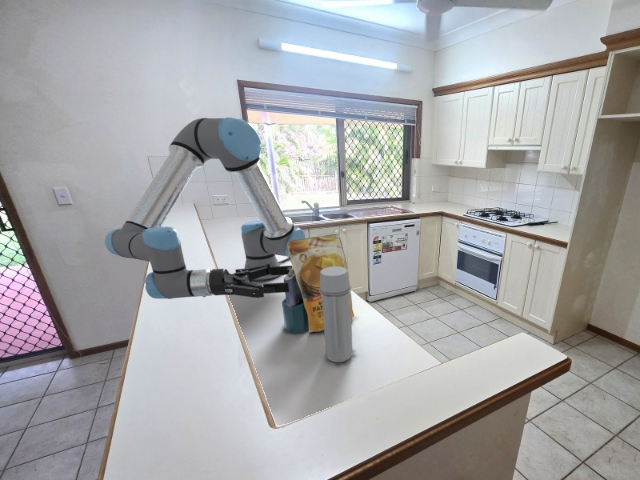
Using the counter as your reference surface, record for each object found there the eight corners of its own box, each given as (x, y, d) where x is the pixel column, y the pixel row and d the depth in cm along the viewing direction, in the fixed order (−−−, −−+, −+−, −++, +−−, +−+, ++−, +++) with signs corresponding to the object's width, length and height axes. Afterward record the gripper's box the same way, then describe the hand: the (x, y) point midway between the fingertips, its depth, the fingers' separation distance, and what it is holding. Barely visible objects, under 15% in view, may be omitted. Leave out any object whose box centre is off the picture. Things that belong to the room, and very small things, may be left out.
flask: (293, 308, 96) (288, 273, 91) (283, 307, 96) (279, 273, 92) (305, 295, 104) (302, 263, 100) (297, 294, 104) (293, 262, 100)
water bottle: (326, 348, 93) (320, 265, 83) (354, 347, 93) (351, 265, 84) (322, 369, 84) (314, 279, 74) (353, 368, 85) (349, 279, 75)
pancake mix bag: (298, 331, 102) (281, 241, 95) (350, 313, 113) (338, 232, 106) (308, 336, 96) (290, 242, 90) (361, 317, 108) (349, 232, 101)
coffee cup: (286, 321, 106) (283, 296, 103) (311, 319, 108) (309, 294, 104) (284, 334, 99) (280, 307, 96) (310, 331, 101) (308, 305, 97)
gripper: (226, 278, 105) (295, 274, 110) (200, 315, 83) (288, 308, 87) (221, 256, 102) (292, 253, 107) (194, 287, 80) (285, 282, 84)
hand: (290, 278), depth 97 cm, fingers open, 13 cm apart
